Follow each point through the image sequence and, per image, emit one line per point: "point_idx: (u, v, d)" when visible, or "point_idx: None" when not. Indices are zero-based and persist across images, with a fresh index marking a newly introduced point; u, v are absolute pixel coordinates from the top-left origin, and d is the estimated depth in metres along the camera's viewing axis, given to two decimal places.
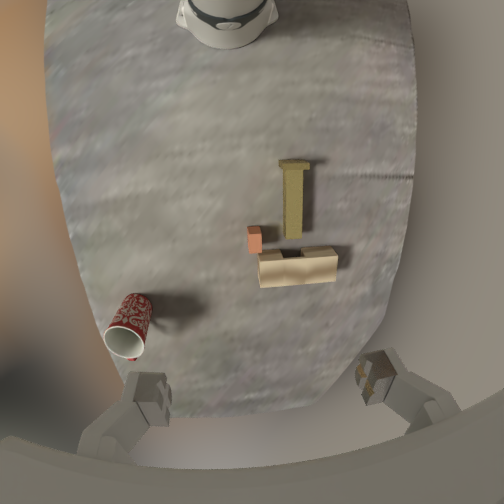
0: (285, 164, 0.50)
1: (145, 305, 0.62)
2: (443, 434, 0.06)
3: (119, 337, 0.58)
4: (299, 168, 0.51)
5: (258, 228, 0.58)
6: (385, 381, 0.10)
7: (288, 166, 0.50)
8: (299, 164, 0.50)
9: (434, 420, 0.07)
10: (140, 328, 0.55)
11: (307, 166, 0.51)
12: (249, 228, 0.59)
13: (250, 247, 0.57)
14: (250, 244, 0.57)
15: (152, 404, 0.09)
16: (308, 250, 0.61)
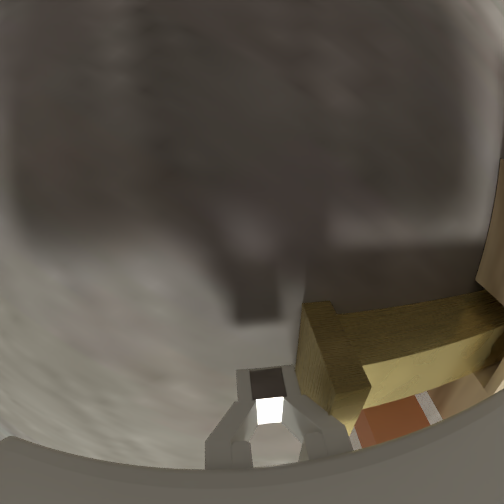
0: None
1: None
2: (443, 434, 0.06)
3: None
4: (351, 419, 0.09)
5: (367, 425, 0.15)
6: (273, 401, 0.09)
7: None
8: None
9: (312, 456, 0.07)
10: None
11: (351, 399, 0.08)
12: (359, 433, 0.16)
13: None
14: None
15: (273, 400, 0.09)
16: (499, 273, 0.11)
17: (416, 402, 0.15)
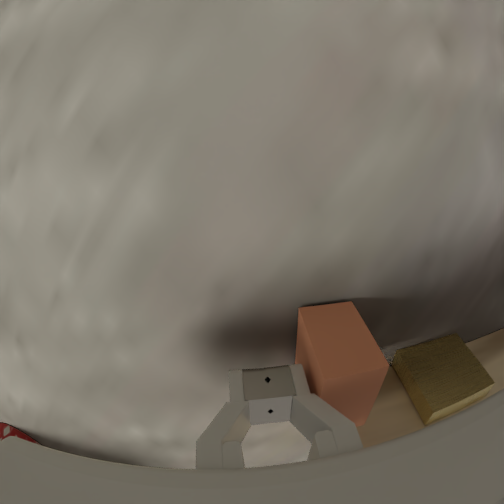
0: (438, 412, 0.10)
1: None
2: (443, 434, 0.06)
3: None
4: (466, 404, 0.11)
5: (356, 319, 0.11)
6: (282, 400, 0.09)
7: (444, 412, 0.11)
8: (472, 396, 0.11)
9: (323, 454, 0.07)
10: None
11: (485, 392, 0.11)
12: (312, 320, 0.11)
13: None
14: None
15: (265, 400, 0.09)
16: None
17: None
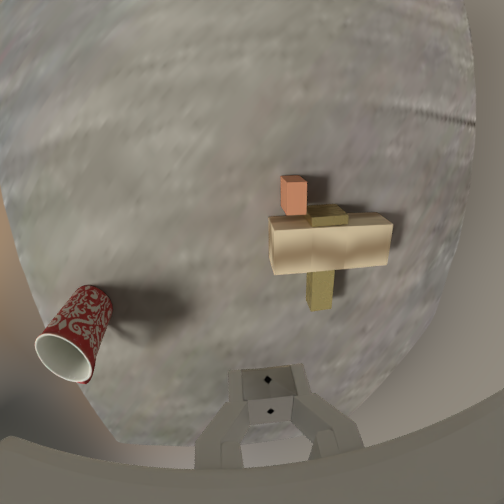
0: (314, 218, 0.35)
1: (99, 303, 0.39)
2: (443, 434, 0.06)
3: (63, 350, 0.35)
4: (334, 223, 0.35)
5: (299, 177, 0.36)
6: (283, 400, 0.09)
7: (319, 221, 0.35)
8: (334, 217, 0.35)
9: (324, 454, 0.07)
10: (85, 338, 0.32)
11: (345, 220, 0.35)
12: (284, 177, 0.36)
13: (288, 205, 0.34)
14: (288, 200, 0.34)
15: (264, 400, 0.09)
16: None
17: None
